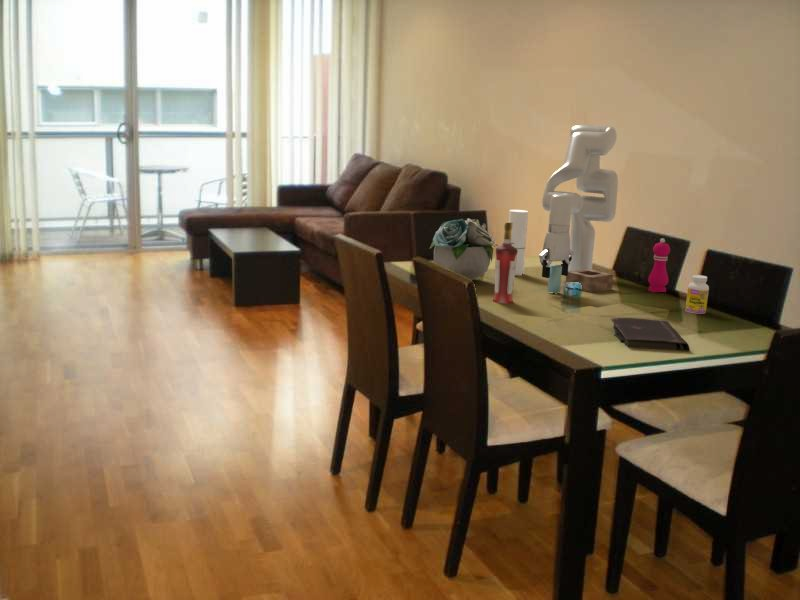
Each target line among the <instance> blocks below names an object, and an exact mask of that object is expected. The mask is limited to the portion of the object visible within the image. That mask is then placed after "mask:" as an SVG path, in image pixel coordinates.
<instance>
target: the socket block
mask: <svg viewBox="0 0 800 600" xmlns="http://www.w3.org/2000/svg"><path fill="white" fill-rule="evenodd" d="M613 277H614V274H613V273H609V272H603V271H600V270H595V269H592V270H591V269H582V270H575V271H568V276H565V283H566V282H579V283H581V285H582V290H581V291H584V292H588V293H596V292H603V291H611V290H612V288H613V282H614V281H613V280H614V278H613Z"/></svg>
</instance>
